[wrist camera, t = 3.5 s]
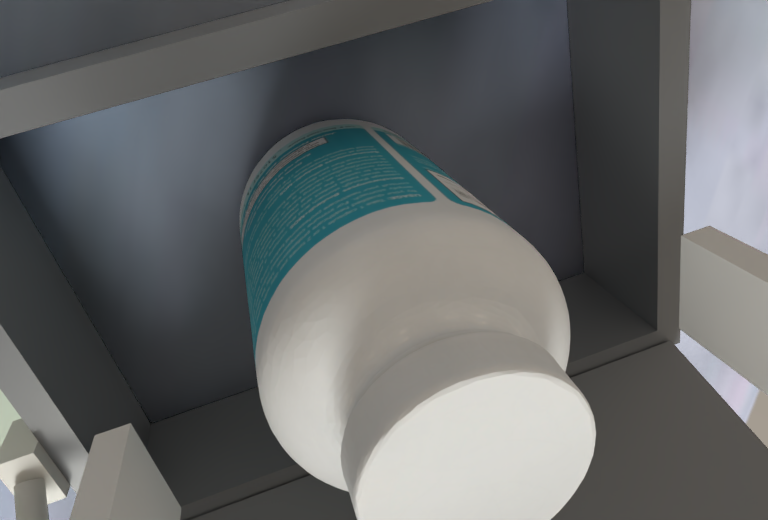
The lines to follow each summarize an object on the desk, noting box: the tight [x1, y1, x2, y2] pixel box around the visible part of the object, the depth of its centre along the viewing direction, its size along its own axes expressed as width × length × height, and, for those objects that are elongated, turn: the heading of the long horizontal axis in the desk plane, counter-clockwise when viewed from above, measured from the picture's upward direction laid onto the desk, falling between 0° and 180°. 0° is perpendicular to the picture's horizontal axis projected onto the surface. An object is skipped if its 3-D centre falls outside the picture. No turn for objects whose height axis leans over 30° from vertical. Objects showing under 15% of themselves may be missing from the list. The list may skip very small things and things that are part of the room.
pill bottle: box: [239, 119, 596, 520], centre depth 16 cm, size 8×7×14 cm
